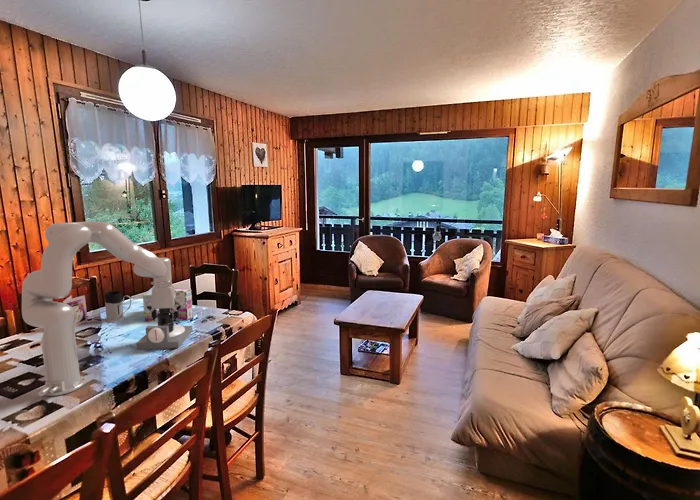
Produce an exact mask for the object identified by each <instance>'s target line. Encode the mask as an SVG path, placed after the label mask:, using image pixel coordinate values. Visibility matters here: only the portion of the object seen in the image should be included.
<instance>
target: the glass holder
mask: <svg viewBox="0 0 700 500" xmlns="http://www.w3.org/2000/svg"><path fill="white" fill-rule="evenodd" d="M125 297H127V298H129V306H128V308H127V309H126V310H125V311H123V310H124V308H123V307H124V306H123V303H125ZM104 304H105V305H104V307H105V313H106V314H105V315H106V316H105V317H106V319H105V322H107V323H116V322H120V321H124V319H125V316H124V314H125V313H126V312H127V311H128V310H129V309H130V308H131V306H132V297H130V295H124V296H122V292H121V291H120V290H115V291H109V292H105V293H104Z"/></svg>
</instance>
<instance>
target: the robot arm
mask: <svg viewBox="0 0 700 500" xmlns="http://www.w3.org/2000/svg"><path fill="white" fill-rule="evenodd" d="M44 236H45V237H44V238H45V239H46V241H47V242H48V244H47V245H46V246H45V248H44V250H43V253H42V256H41V263H40V264H41V265H40V269H37V270H35V271H32V272H30V273H29V274H27V276H26V277H25V278H24V280H23V282H22V285H21V286H22V287H21V316H22V319H23V321H24V322H25V323H26V324H27V325H29V326H31V327H35V328H40V329H43V333H42V337H41V341H40V342H41V351H42V359H43V367H44V374H45V382H44V385H43V387H42V388H41V390H39V392H38V393H37V394H38V396H39V397H43V396H48V397H54V396H55V397H56V396H61V395H65V394H69V393H72V392H74V391H77V390H79V389H80V388H82V387H83V386H85V384H86V382H87V379H86V377H85V376H83V375H81V374H80V365H79V364H80V363H79V357H78V347H77V341H76V339H77V338H76V326H75V324H76V312H75V310H74V309H73V308H72V307H71V306H70V305H68V304H65V303H63V302H59V301H54V299H55V300H60V299H64V298H67V296H69V295H70V293H71V291H72V287H73V260H74V258H75V255H76V254H77V253H78V252H79V250H80V249H82V248H83V247H84V246H86V245H87V244H88V243H94V244H98V245H100V246H101V247H103V248H104V249H105V250H107V251H108V252H109V253H111V255H112V256H114V257H115V258H116V259H119V260H120V261H121V260H122V261H124V262H127V263H131V264H133V266H132V267H133V268H132V270H133V273H134V275H136V276H138V277H141V278H142V277H143V278H151V279H153V281H151V282H150V285H153V286H154V287H153V286H152V287H153V288H152V287H151V288H152V294H151V300H149V301H147V302H145V305H146V307H147V308H148V309H149V310H150V312H151V314H152V318H153V320H154V321H155V320H156V319H157V311H156V310H155V309H168V308H170V309H171V308H172V309H173V310H174V318H173V320H174V321H175V320H178V319H177V318H178V317H179V312H178V310H179V309H180V308H181V307H182V305H183V303H184V301H182V300H180V299H177V298H176V294H175V286H174V285H173V280H172V265H171V262H172V261H171V259H170V258H169V257H158V256H157V255H156V254H154V253H153V252H151V251H150V250H147V249H146V248H143V247H142V246H140V245H138V244H136V243H134V242H133V241H131V239H129V238H128V237H127V236H126V235H125V234H124V233H123V232H121V231H120V230H119V229H118V228H117V227H116V226H114V225H113V224H111V223H109V222H105V221H92V220H91V221H88V220H87V221H75V222H71V221H69V222H56V223H52V224H51V225H48V226H47V228H46V229H45V232H44ZM177 302H178V303H179V306H177V305H176V304H177ZM149 303H151V305H150V304H149Z"/></svg>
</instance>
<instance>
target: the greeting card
mask: <svg viewBox="0 0 700 500" xmlns="http://www.w3.org/2000/svg"><path fill="white" fill-rule="evenodd" d="M62 303H65V304H68V305H70V306H71V307H72V308H73V309H74V310H75V312H76V324H75V327H77V326H80V325H83V324H87V323H88V313H87V304H86V303H87V302H86V296H85V294H84V295H80V296H77V297H74V298H73V295H72V294H71V295H70V296H69V297H66V299H64V300H63V301H62Z"/></svg>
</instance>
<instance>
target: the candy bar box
mask: <svg viewBox="0 0 700 500" xmlns="http://www.w3.org/2000/svg"><path fill="white" fill-rule="evenodd" d="M174 289H175V294H176V298H177V299H180V300H182V301H184V303H183V305H182V307H181V308H180V309H179V310H178V312H179V317H178V318H177V319H176V320H185V321H189V320H191V319H193V318H194V314H193V313H194V312H193V311H194V310H193V295H192V292H193V291H192V289H189V288H188V289H187V288H178V287H177V288H175V287H174ZM176 305H177V306H179V303H178V302H177V304H176ZM170 309H171V312H172V313H173V319H174V310H173V309H172V308H170Z"/></svg>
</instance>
